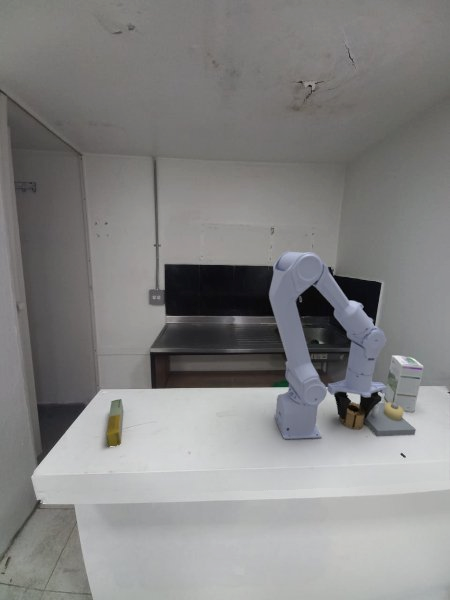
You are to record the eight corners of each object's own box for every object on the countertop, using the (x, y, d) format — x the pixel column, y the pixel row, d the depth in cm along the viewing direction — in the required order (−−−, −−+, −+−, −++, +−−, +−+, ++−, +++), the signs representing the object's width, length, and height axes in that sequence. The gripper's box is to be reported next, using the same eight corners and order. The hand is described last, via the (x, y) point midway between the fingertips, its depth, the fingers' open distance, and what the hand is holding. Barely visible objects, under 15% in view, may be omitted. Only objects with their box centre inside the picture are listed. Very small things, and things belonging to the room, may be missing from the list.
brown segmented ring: (347, 429, 59) (349, 416, 58) (335, 414, 64) (337, 401, 63) (367, 428, 59) (370, 415, 58) (354, 413, 64) (356, 401, 64)
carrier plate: (376, 436, 57) (380, 418, 56) (352, 408, 67) (354, 393, 66) (414, 434, 58) (418, 417, 57) (384, 407, 68) (387, 392, 66)
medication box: (112, 413, 63) (111, 400, 62) (123, 410, 64) (122, 398, 63) (108, 449, 52) (106, 434, 51) (121, 445, 53) (119, 431, 52)
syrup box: (414, 412, 66) (426, 366, 62) (391, 409, 67) (401, 363, 64) (404, 400, 71) (414, 356, 68) (382, 397, 72) (391, 354, 69)
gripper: (341, 378, 54) (333, 428, 57) (400, 377, 55) (389, 426, 58) (326, 363, 61) (319, 409, 64) (378, 363, 62) (369, 407, 65)
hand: (351, 416), depth 61 cm, fingers closed on brown segmented ring, 5 cm apart
